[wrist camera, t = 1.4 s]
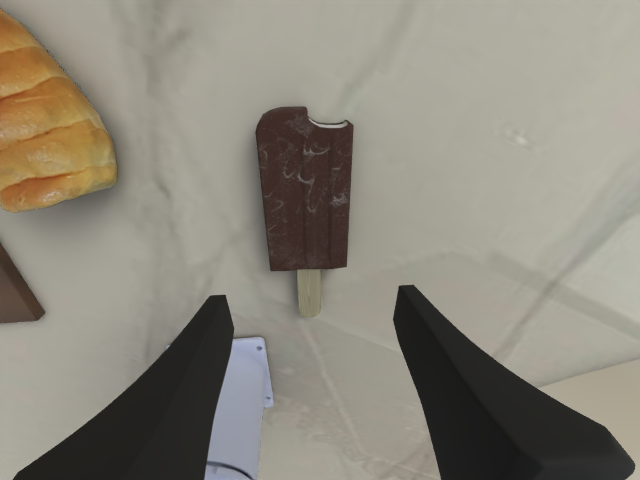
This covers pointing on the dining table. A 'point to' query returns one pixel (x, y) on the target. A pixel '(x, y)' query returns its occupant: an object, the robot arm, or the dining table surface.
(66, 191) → the pastry
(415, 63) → the dining table surface
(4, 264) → the walnut board
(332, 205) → the ice cream bar
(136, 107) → the dining table surface
